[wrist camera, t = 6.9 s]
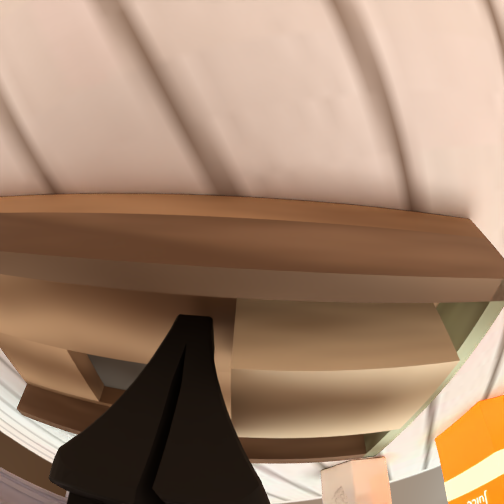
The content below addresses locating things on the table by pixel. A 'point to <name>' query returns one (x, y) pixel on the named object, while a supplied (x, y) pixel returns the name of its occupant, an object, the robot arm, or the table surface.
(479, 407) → the orange juice
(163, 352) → the robot arm
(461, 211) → the table surface
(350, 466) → the jar
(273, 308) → the maple block
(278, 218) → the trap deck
